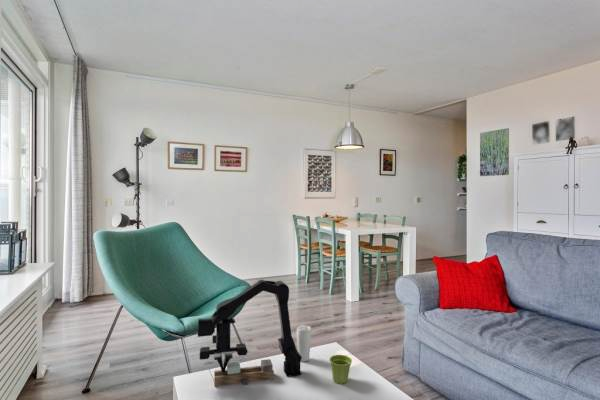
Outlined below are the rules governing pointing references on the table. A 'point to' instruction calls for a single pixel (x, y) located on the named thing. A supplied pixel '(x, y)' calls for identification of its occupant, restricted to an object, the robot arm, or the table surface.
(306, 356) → the drinking glass
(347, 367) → the plant pot
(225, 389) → the table surface
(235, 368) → the block
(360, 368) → the table surface
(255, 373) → the beam
